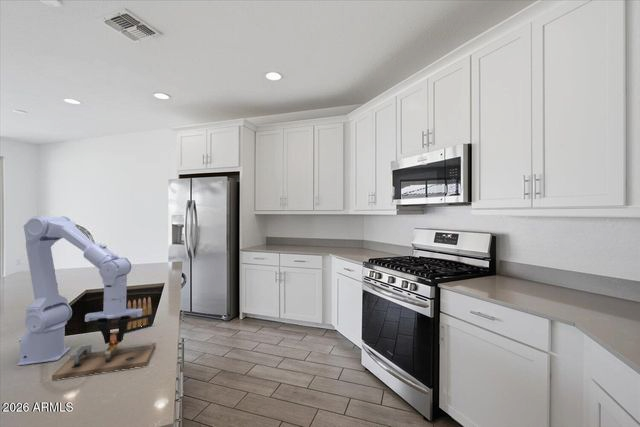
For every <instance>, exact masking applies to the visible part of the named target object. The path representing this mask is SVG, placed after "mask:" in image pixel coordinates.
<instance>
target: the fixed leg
mask: <svg viewBox="0 0 640 427" xmlns="http://www.w3.org/2000/svg"><path fill="white" fill-rule="evenodd" d="M92 347H93V346H92V344H88V345H81V346H80V348H78V349H77V350H76V352H77V354H76V355H75V356H74V357H73V360H74V367H78V366H79V363H80V357H81V356H83V355H87V354H88V353H89V352H90V351H91V350H93V349H92Z"/></svg>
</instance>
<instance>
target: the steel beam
mask: <svg viewBox="0 0 640 427" xmlns="http://www.w3.org/2000/svg"><path fill="white" fill-rule="evenodd" d="M152 343H153V342H147V343H139V344H133V345H132V344H131V345H124V346H122V345H121V346H120V347H119V348H118V349H117V350H114V351H112V352H111V355H114V354H121V353H129V352H136V351H144V350H151V348H152ZM107 349H108V347H107V348H100V349H91V351H90V352H89V353H88V354H87V355H83V356H81V357H80V359H83V358H91V357H99V356H106V355H105V351H106V350H107ZM76 354H77V351H76V352H71V353H70V354H69V358H68V360H73V357H74V356H75V355H76Z"/></svg>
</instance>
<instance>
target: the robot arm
mask: <svg viewBox="0 0 640 427" xmlns="http://www.w3.org/2000/svg"><path fill="white" fill-rule="evenodd" d="M23 229H24V230H23V231H24V237H25V250H26V255H27V261H28V266H29V267H28V268H29V272H30V278H31V284H32V285H31V286H32V289H33V290H32V291H33V296H34V301H32V303H31V304H30V305H28V307H27V308H26V309H25V313H26V316H25V319H24V324H25V327H26V329H27V331H25V332H24V333H23V334H22V336H21V338H20V342H19V362H18V363H17V365H18V366H24V365H32V364H38V363H39V364H41V363H45V362H46V363H47V362H55V361H59V360H60V359H61V358H62V357H63V356H64V355H65V354H66V353H67V352H69V351H70V350H71V348H70V347H65V335H66V333H65V332H66V331H65V330H66V329H65V328H66V326H65V325H67V324H68V321H69V320H70V319H71V318H72V315H73V310H72V307H71V306H70V304H69V302H68V298H66V297H65V296H63V295H60V292H59V286H58V282H57V276H56V271H55V265H54V258H53V252H52V246H53V245H54V244H55V243H58V241H60V240H62V239H64V240H66V242H69V243H70V244H72V245H73V246H75V247H76V248H78V249H79V250H80V251H82V252H83V258H84V259H86V260H87V262H90V264H92V265H93V266H94V267H96V268H97V269H98V273H99V275H100V278H102V284H103V308H102V309H103V311H96V312H89V313H86V314H85V315H84V322H87V323H89V322H90V321H97V322H96V327H97V328H98V329H99V331H100V333H101V335H102V337H103V340H104V344H105V345H108V344H109V333H111V325H112V320H113V319H118V320H117V326H118V331H119V336H118V342H120V343H121V342H122V341H123V340H124V336H125V334H126V333H125V330H126V327H127V325H128V323H129V321H130V319H131V317H133V316H137V317H140V316H142V310H143V309H137V308H136V309H132V308H131V309H127V287H128V286H127V285H128V284H127V282H128V281H127V280H128V274H129V273H130V272H131V270H132V263H131V261H130V260H129V259H128V258H127V257H123V256H122V257H120V256H119V255H118V254H116V253H114V252H113V251H111V250H110V249H109V248H107V245H106V244H103V243H98V242H97V243H94V242H93V241H92V240H91V239H90V238H89V237H88V236H87V235H86V234H85V233H84V232H82V231H81V230H80V229H79V228H78V227H77V226H76V222H75V221H73V220H71V218H70V217H68V216H32V217H31V218H29V219H28V220H27V221H26V223H24V225H23ZM124 333H125V334H124Z"/></svg>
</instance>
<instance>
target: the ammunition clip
mask: <svg viewBox="0 0 640 427" xmlns="http://www.w3.org/2000/svg"><path fill="white" fill-rule="evenodd" d="M126 309H143V310H142V316H140V317H137V316H133V317H131V319H130V321H129V323H128V325H127V327H126V330H125V333H124V335H125V334H128V333H133V332H136V331H140V330H143V329H147V328H150V327H153V316H152V315H153V314H152V300H151V297H150V296H148V298H147V300H146V297H144V298H143V300H142V299H141V298H139V299H138V301H136V299H133V301H132V302H131V300H128V302H127V305H126ZM141 326H142V327H141Z"/></svg>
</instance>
